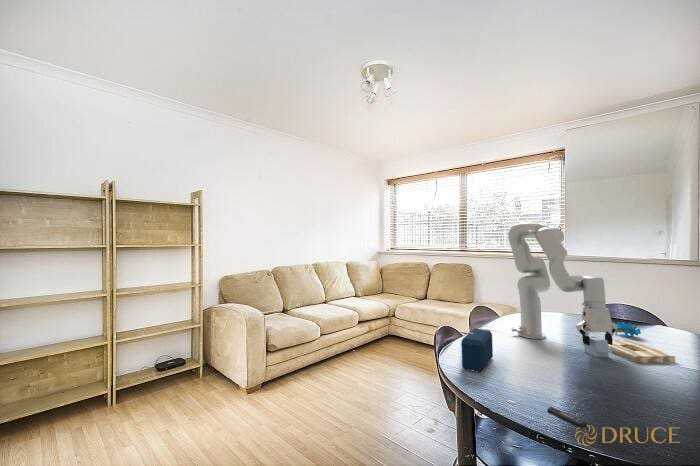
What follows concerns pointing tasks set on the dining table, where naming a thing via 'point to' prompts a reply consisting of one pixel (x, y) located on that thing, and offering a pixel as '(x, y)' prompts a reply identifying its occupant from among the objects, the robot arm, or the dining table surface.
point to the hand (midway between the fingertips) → (597, 344)
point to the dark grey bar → (567, 417)
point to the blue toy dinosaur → (627, 329)
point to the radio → (477, 350)
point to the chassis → (639, 352)
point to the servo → (597, 347)
